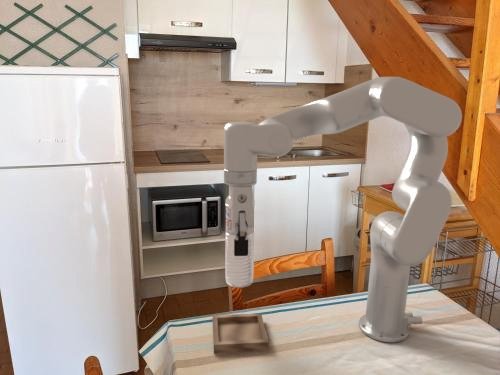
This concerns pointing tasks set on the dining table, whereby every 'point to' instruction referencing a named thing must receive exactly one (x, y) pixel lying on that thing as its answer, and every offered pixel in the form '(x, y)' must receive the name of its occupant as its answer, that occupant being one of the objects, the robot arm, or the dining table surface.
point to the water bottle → (238, 266)
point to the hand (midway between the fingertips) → (239, 248)
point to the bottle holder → (239, 333)
